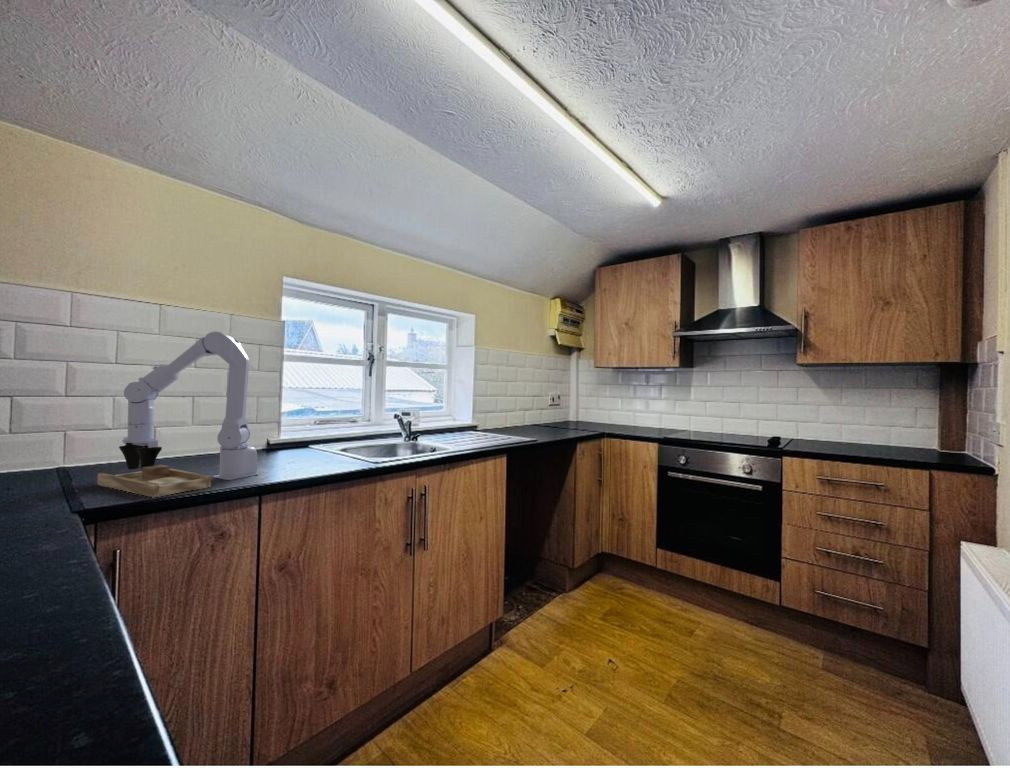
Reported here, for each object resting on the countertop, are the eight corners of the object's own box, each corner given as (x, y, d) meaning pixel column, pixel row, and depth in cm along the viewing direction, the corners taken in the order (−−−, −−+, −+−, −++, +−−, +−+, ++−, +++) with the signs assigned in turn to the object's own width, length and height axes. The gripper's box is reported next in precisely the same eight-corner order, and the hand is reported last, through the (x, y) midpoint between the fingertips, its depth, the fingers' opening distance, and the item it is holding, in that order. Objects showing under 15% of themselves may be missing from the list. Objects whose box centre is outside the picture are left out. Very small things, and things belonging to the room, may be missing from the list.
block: (160, 475, 123) (160, 464, 123) (169, 476, 121) (169, 466, 121) (141, 478, 119) (142, 467, 119) (150, 479, 117) (150, 468, 117)
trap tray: (154, 475, 129) (154, 465, 129) (210, 487, 117) (211, 475, 117) (97, 484, 117) (97, 473, 117) (153, 498, 105) (153, 485, 105)
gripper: (110, 423, 124) (110, 470, 124) (137, 426, 117) (136, 475, 117) (140, 421, 130) (139, 466, 130) (166, 424, 124) (165, 471, 124)
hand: (139, 470), depth 124 cm, fingers open, 7 cm apart
